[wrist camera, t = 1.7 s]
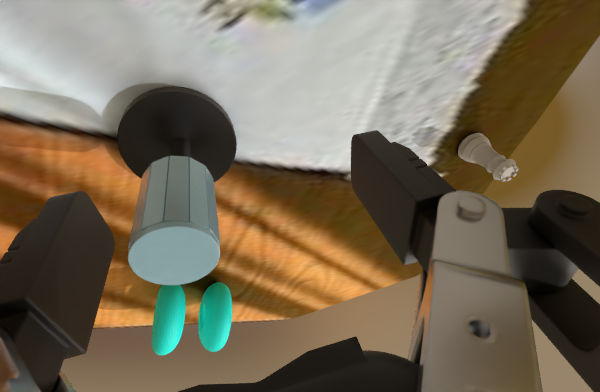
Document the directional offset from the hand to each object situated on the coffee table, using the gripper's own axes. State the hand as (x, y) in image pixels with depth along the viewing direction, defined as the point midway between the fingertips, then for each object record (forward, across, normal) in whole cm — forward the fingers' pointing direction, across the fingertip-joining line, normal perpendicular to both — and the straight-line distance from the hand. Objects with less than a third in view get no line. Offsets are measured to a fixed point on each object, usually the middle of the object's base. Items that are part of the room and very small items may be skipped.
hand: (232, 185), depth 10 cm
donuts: (+27, +12, +36) cm, 47 cm away
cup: (+17, +6, +10) cm, 21 cm away
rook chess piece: (+27, -34, +20) cm, 48 cm away
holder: (+26, +6, +10) cm, 28 cm away
